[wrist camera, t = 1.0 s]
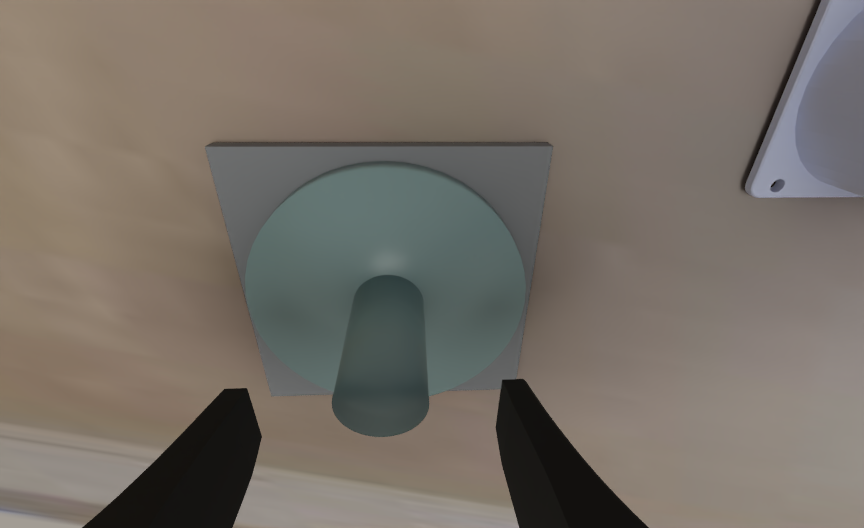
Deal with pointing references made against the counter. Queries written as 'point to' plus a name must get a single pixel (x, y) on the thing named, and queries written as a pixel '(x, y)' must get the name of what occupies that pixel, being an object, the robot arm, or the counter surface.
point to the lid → (385, 289)
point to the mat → (300, 162)
